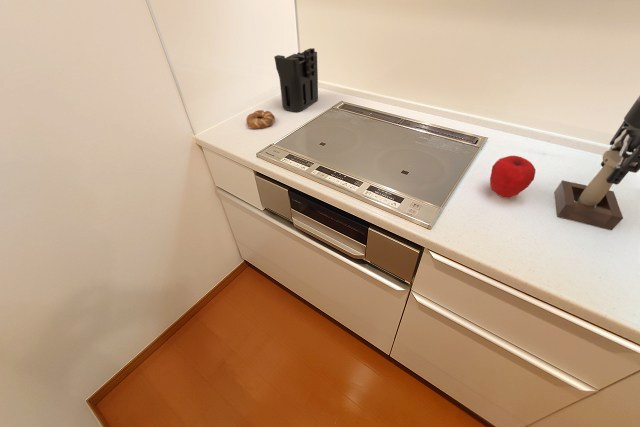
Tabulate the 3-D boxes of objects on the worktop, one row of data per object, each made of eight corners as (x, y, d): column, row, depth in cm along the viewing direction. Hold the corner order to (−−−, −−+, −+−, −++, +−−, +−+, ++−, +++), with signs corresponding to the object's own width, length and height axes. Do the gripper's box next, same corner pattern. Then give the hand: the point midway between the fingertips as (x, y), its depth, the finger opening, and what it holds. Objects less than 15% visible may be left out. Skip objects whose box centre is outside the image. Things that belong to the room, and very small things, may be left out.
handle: (577, 216, 73) (616, 165, 62) (565, 200, 77) (600, 149, 67) (598, 218, 72) (642, 166, 62) (585, 201, 77) (624, 151, 67)
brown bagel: (259, 132, 110) (258, 123, 107) (239, 125, 115) (237, 116, 112) (281, 121, 117) (280, 112, 114) (261, 114, 122) (260, 105, 119)
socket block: (603, 203, 76) (613, 191, 74) (612, 230, 69) (623, 218, 66) (554, 192, 80) (561, 180, 78) (557, 216, 73) (565, 204, 70)
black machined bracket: (279, 109, 125) (272, 52, 110) (305, 93, 138) (302, 40, 123) (302, 115, 120) (298, 56, 106) (327, 98, 133) (327, 43, 119)
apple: (484, 179, 85) (499, 145, 78) (522, 187, 82) (541, 153, 74) (481, 198, 79) (496, 164, 72) (521, 209, 75) (542, 173, 68)
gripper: (705, 120, 50) (636, 196, 61) (677, 92, 60) (622, 162, 71) (649, 113, 53) (593, 187, 64) (630, 86, 62) (584, 155, 73)
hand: (608, 174), depth 67 cm, fingers closed on handle, 6 cm apart
